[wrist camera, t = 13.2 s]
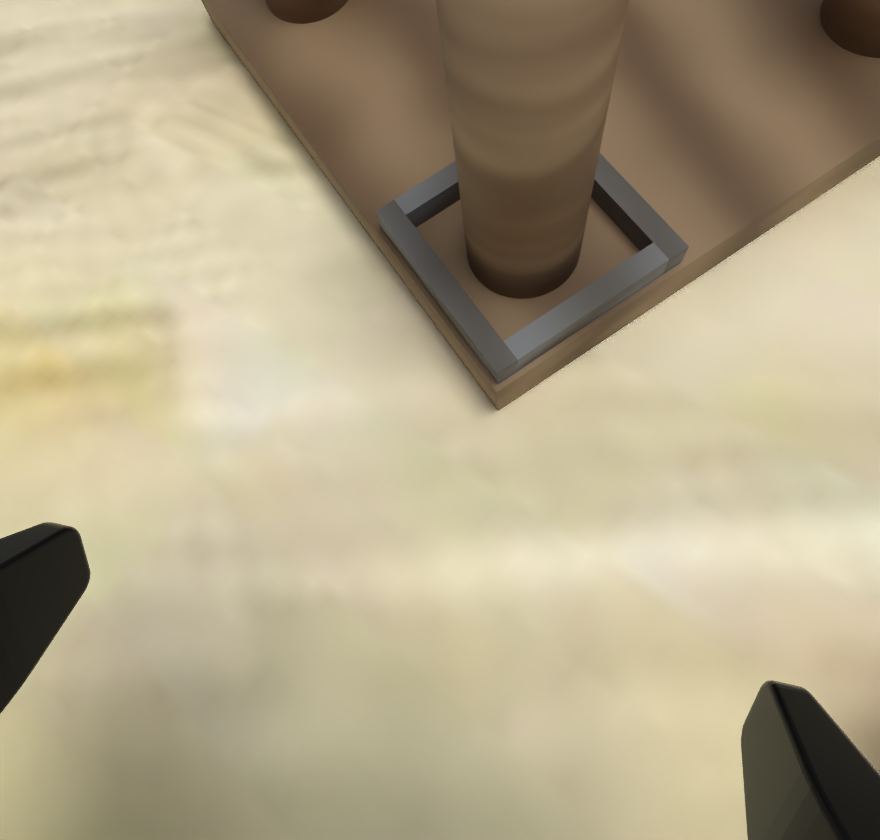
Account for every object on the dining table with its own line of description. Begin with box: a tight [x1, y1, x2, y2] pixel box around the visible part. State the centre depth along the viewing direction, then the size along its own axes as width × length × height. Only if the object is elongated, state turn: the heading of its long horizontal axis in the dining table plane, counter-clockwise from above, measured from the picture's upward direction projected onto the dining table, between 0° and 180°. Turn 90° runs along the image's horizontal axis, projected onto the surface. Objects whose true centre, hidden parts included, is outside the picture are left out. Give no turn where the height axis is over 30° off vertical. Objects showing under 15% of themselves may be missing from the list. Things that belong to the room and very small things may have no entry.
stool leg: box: [436, 0, 629, 299], centre depth 16 cm, size 4×4×13 cm
